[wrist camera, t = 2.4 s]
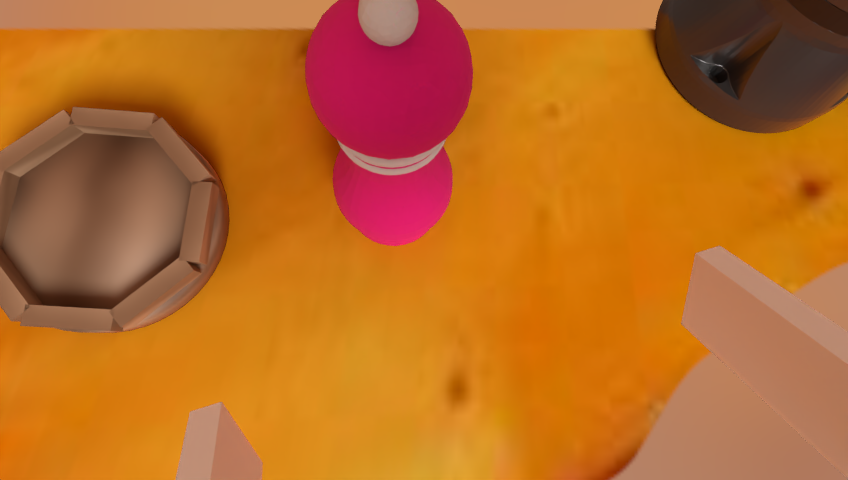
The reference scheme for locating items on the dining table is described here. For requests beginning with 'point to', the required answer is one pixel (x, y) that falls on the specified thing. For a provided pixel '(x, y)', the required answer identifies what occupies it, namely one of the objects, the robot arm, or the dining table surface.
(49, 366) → the dining table surface
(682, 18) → the robot arm
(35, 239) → the bowl
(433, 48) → the pepper mill
